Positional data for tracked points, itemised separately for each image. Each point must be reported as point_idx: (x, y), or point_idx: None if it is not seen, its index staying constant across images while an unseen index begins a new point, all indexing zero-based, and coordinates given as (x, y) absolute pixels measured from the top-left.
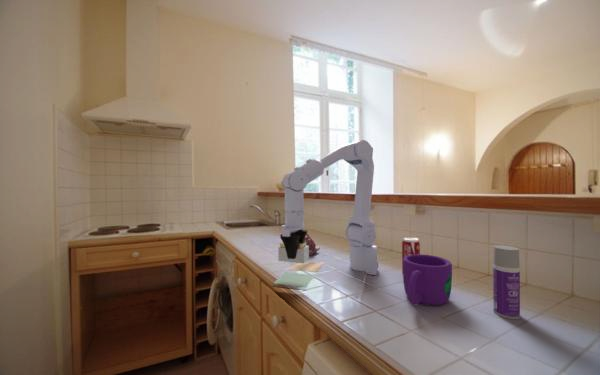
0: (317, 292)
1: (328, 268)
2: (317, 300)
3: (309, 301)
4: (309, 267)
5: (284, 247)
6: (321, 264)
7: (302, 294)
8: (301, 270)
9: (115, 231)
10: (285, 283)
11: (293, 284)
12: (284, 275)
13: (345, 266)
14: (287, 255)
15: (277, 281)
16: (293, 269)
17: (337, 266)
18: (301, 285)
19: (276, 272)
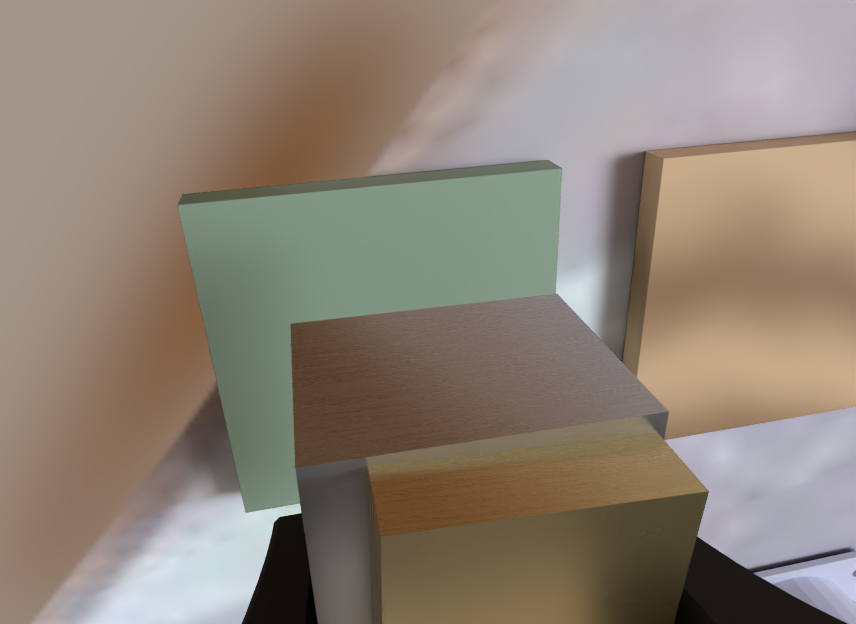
0: (259, 564)
1: (792, 439)
2: (125, 616)
3: (75, 586)
4: (744, 336)
5: (361, 559)
6: (839, 396)
7: (164, 499)
8: (645, 304)
9: None
10: (235, 329)
11: (249, 405)
12: (452, 209)
13: (845, 523)
14: (267, 555)
15: (246, 227)
16: (663, 213)
17: (844, 478)
18: (261, 471)
19: (612, 2)
